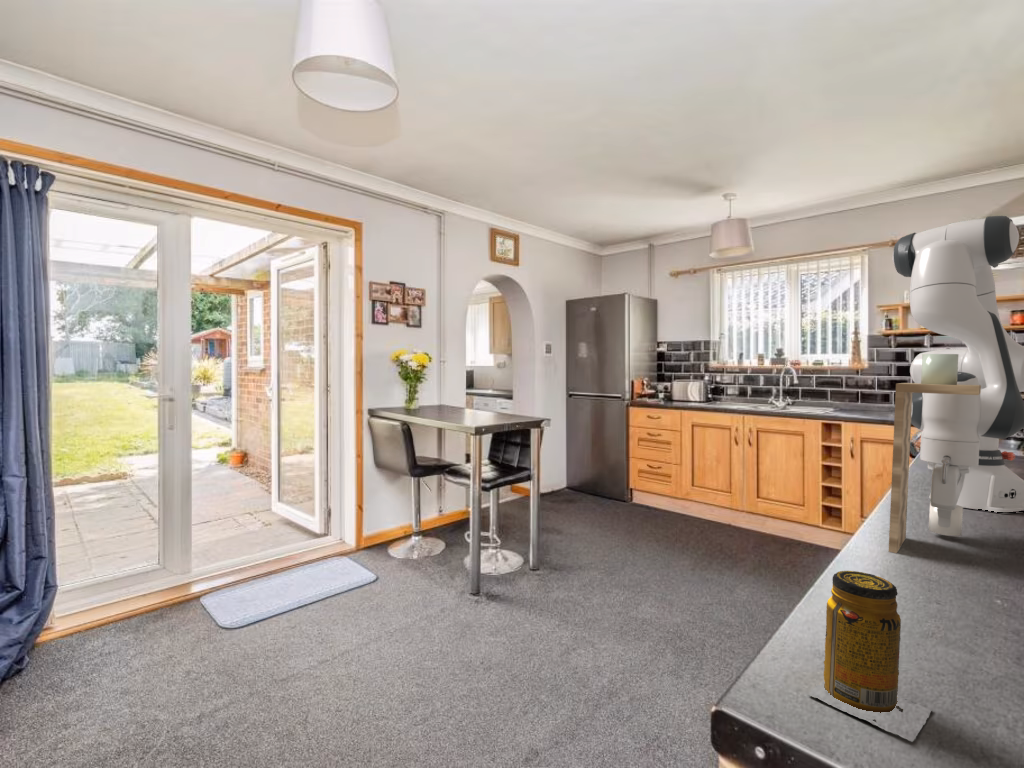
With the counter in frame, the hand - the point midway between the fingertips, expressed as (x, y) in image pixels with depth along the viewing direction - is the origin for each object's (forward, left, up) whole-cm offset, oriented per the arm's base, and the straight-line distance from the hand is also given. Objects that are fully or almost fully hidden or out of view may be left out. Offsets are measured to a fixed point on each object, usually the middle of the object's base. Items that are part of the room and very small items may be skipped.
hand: (945, 522), depth 102 cm
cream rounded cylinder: (0, 0, -2) cm, 2 cm away
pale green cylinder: (+10, +8, +28) cm, 30 cm away
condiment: (+55, +48, -3) cm, 73 cm away
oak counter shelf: (+10, +8, -3) cm, 13 cm away
